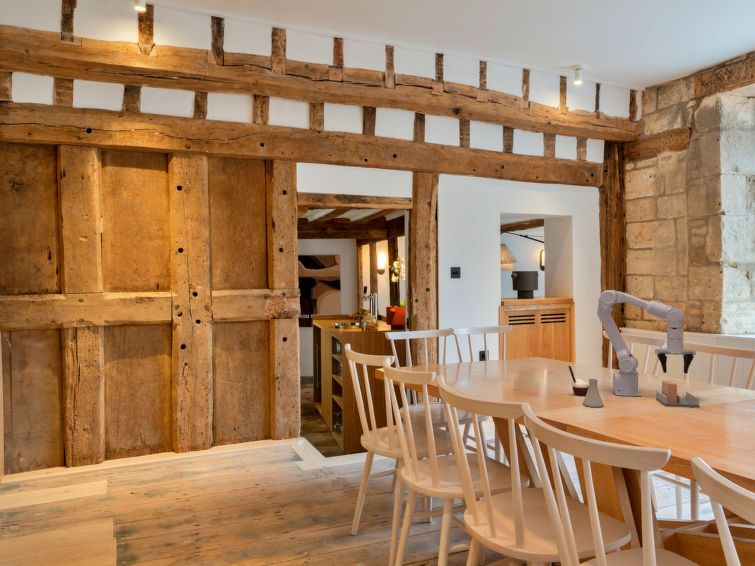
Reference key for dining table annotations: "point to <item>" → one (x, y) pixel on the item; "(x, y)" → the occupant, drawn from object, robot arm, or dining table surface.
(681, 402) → the dish rack
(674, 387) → the terracotta tile
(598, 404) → the flask
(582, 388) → the cocoa
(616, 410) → the dining table surface
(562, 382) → the dining table surface
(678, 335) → the robot arm
